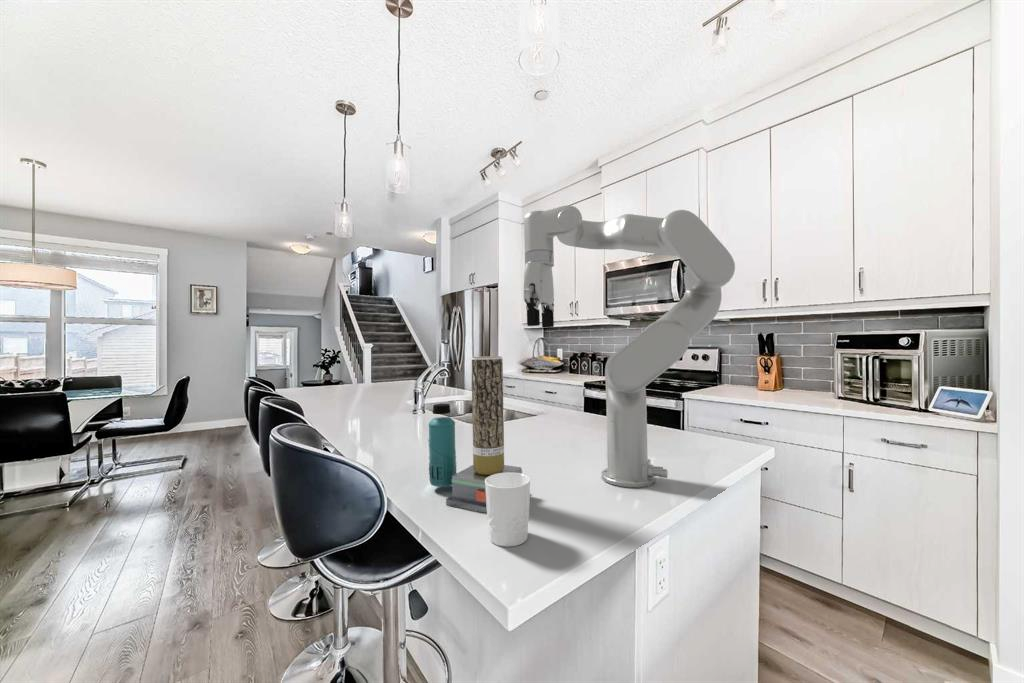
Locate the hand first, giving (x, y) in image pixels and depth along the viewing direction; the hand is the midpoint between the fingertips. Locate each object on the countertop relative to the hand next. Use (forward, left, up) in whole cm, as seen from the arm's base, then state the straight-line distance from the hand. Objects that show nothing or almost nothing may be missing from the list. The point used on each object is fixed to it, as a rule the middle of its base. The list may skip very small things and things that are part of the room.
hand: (541, 326), depth 100 cm
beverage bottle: (+18, +19, -39) cm, 46 cm away
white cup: (-7, +33, -39) cm, 51 cm away
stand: (+5, +20, -38) cm, 43 cm away
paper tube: (+5, +20, -32) cm, 38 cm away
